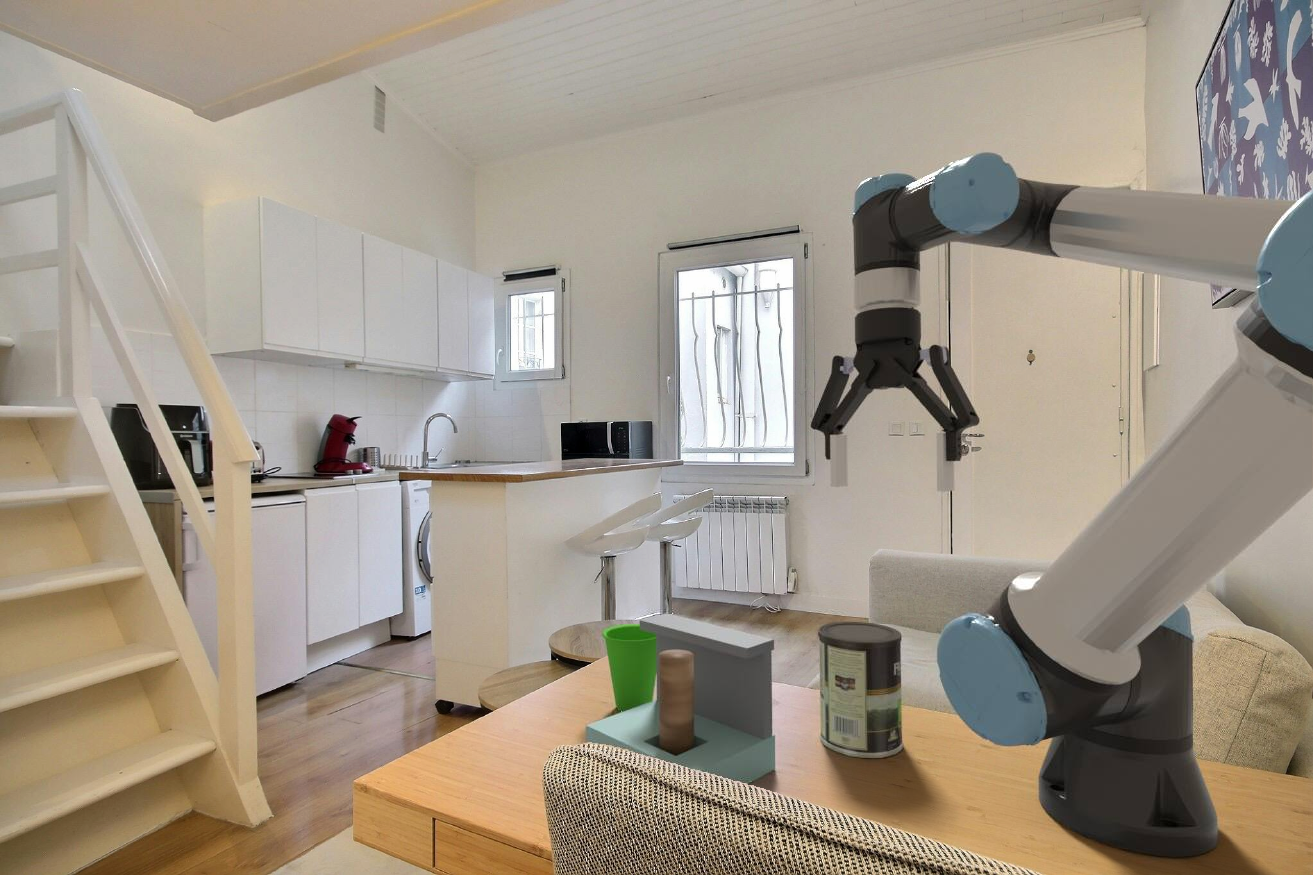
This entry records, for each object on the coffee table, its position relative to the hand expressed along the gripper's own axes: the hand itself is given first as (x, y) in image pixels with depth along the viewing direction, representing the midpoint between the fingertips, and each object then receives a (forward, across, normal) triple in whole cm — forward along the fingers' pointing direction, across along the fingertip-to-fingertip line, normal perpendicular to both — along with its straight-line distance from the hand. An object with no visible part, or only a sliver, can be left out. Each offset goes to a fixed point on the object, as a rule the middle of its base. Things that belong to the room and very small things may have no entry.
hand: (889, 488), depth 83 cm
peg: (+33, +16, +20) cm, 42 cm away
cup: (+33, +35, +10) cm, 49 cm away
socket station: (+33, +18, +18) cm, 41 cm away
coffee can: (+33, +6, -3) cm, 34 cm away
